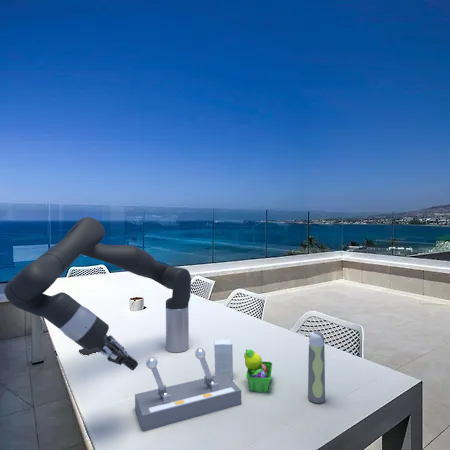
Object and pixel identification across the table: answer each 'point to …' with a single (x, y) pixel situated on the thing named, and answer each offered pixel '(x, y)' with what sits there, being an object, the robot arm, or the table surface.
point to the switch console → (185, 401)
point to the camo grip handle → (316, 368)
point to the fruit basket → (257, 371)
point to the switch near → (156, 374)
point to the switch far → (204, 365)
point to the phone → (89, 351)
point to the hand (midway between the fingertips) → (135, 366)
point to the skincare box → (223, 358)
